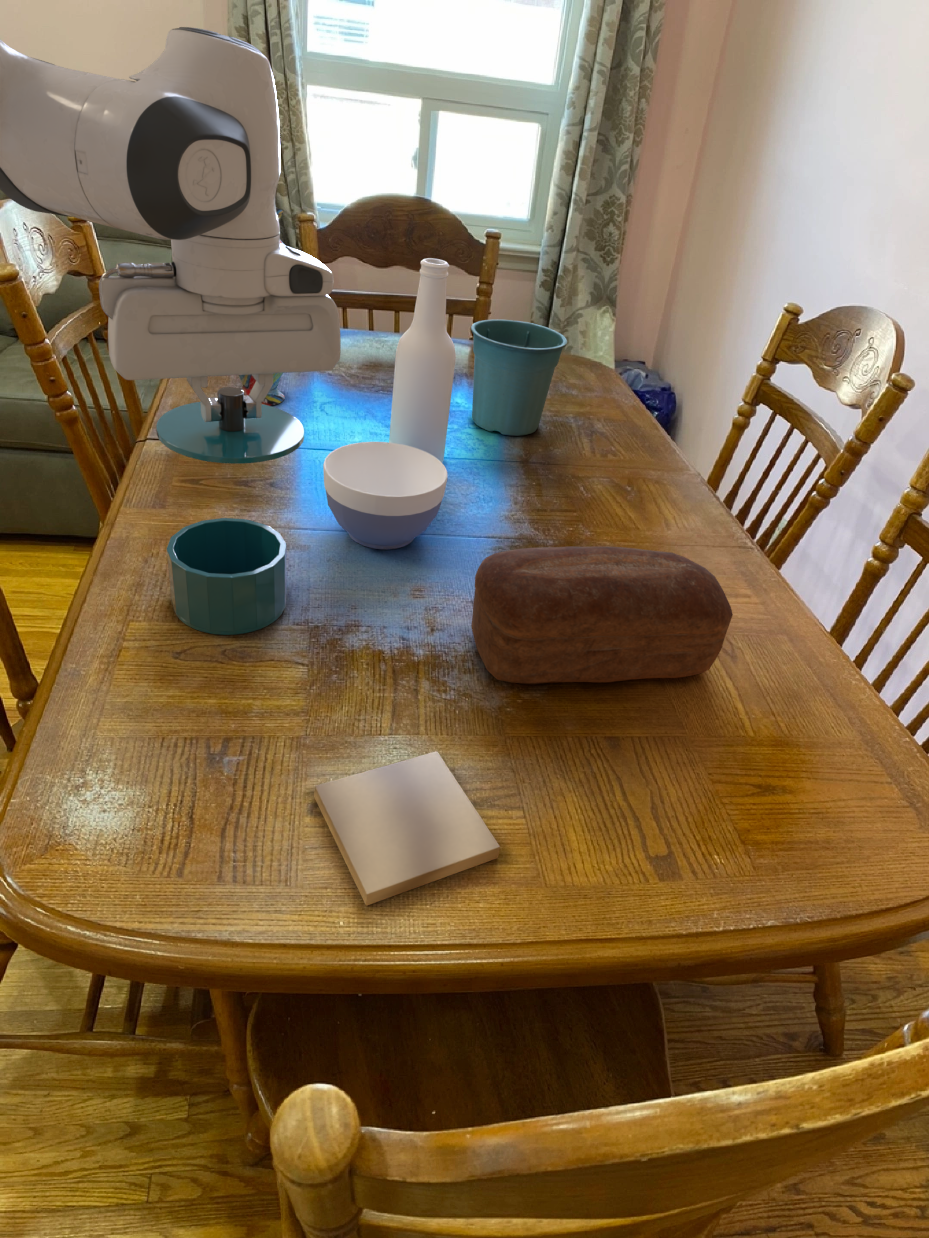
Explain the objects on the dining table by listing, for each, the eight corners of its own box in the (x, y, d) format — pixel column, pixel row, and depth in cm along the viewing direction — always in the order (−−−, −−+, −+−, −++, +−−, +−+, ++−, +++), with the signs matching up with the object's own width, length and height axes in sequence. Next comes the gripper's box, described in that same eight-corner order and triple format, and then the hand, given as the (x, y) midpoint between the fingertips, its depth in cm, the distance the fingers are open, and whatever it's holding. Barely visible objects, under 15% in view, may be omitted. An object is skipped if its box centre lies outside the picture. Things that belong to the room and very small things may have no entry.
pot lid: (176, 477, 71) (172, 426, 69) (143, 416, 81) (138, 369, 78) (324, 462, 78) (326, 414, 75) (278, 407, 87) (278, 363, 84)
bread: (456, 621, 96) (469, 530, 89) (674, 616, 103) (702, 531, 96) (482, 699, 86) (500, 603, 78) (724, 688, 92) (760, 598, 85)
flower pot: (464, 400, 155) (475, 312, 145) (550, 413, 155) (567, 327, 145) (455, 433, 141) (466, 339, 132) (549, 448, 141) (567, 355, 132)
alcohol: (452, 470, 129) (478, 270, 112) (401, 476, 125) (420, 270, 108) (428, 447, 135) (448, 253, 118) (378, 452, 131) (392, 252, 114)
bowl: (445, 513, 117) (453, 451, 112) (432, 571, 104) (440, 505, 99) (335, 496, 117) (338, 434, 112) (308, 553, 104) (310, 485, 99)
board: (365, 906, 64) (367, 894, 63) (313, 797, 72) (314, 785, 71) (498, 858, 69) (500, 846, 68) (435, 761, 78) (437, 750, 77)
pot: (187, 644, 87) (182, 585, 83) (162, 582, 95) (156, 526, 91) (300, 622, 92) (301, 566, 88) (267, 565, 101) (266, 512, 97)
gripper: (102, 272, 63) (122, 440, 71) (351, 275, 72) (343, 423, 80) (89, 252, 67) (108, 412, 75) (325, 256, 77) (320, 399, 85)
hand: (231, 418), depth 78 cm, fingers closed on pot lid, 2 cm apart
